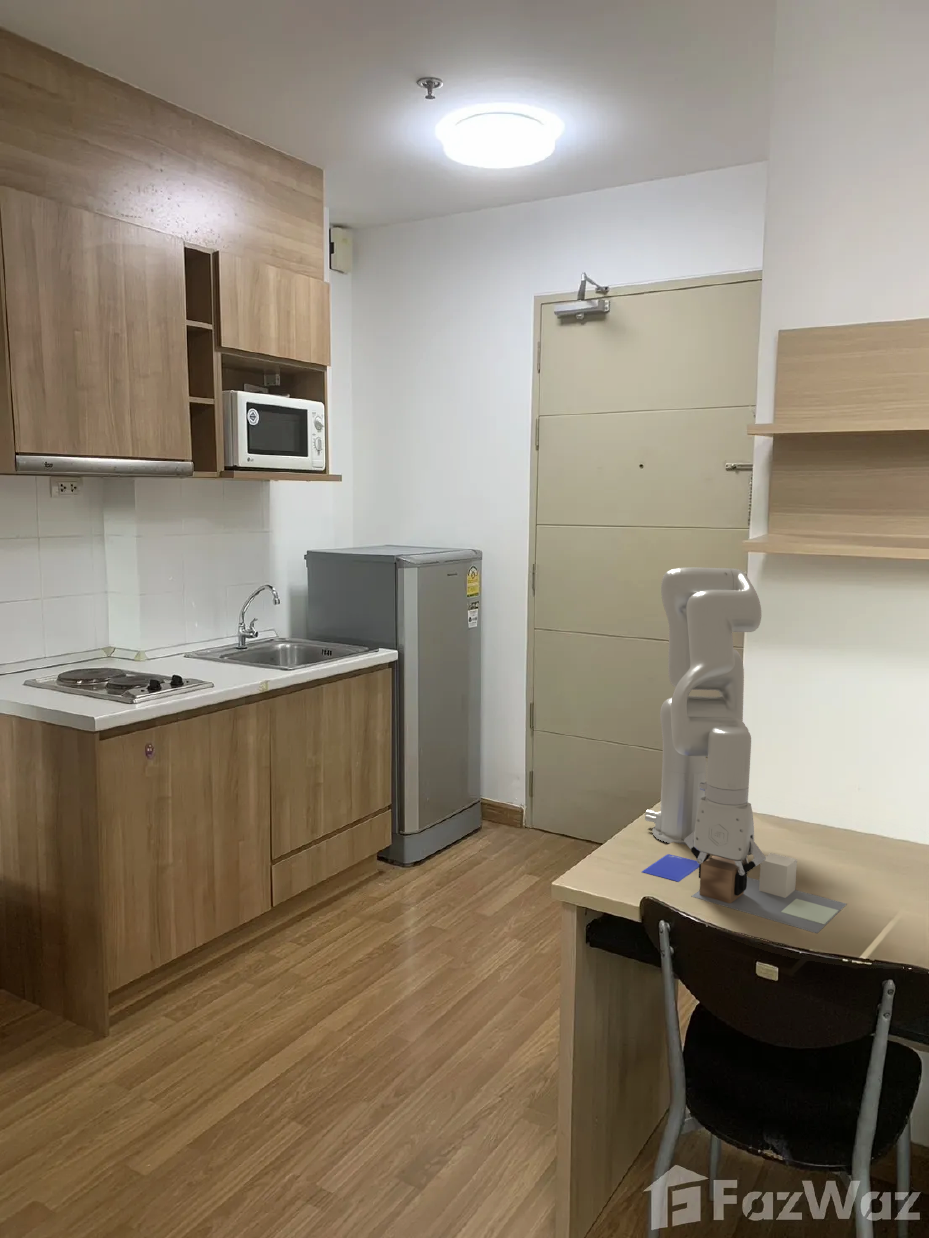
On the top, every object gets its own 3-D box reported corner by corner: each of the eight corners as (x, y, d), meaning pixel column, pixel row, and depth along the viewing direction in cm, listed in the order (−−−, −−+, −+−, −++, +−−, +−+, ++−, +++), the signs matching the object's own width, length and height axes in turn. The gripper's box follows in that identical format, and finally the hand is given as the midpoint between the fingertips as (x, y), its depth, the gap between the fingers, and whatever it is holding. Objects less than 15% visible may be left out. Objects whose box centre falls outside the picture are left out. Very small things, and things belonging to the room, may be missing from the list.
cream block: (759, 890, 174) (760, 859, 173) (769, 882, 178) (770, 852, 177) (785, 897, 171) (787, 866, 170) (795, 889, 174) (796, 859, 174)
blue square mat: (666, 853, 192) (640, 870, 182) (704, 862, 187) (678, 881, 177) (666, 860, 192) (639, 878, 182) (704, 869, 187) (678, 888, 177)
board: (691, 900, 171) (691, 895, 171) (726, 875, 183) (727, 870, 183) (816, 937, 156) (817, 932, 156) (846, 907, 168) (847, 903, 168)
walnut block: (699, 894, 171) (701, 863, 171) (713, 884, 176) (714, 854, 175) (730, 903, 167) (732, 871, 167) (743, 893, 172) (745, 862, 171)
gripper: (674, 788, 172) (670, 881, 174) (764, 809, 161) (759, 907, 163) (692, 780, 178) (688, 870, 180) (780, 799, 167) (775, 894, 169)
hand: (722, 887), depth 172 cm, fingers closed on walnut block, 6 cm apart
